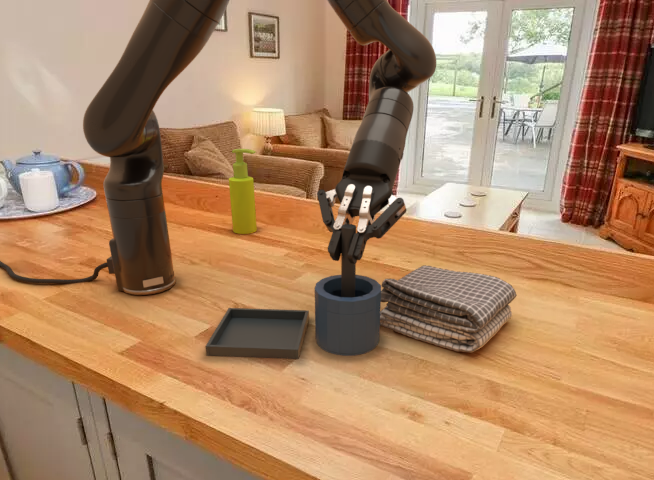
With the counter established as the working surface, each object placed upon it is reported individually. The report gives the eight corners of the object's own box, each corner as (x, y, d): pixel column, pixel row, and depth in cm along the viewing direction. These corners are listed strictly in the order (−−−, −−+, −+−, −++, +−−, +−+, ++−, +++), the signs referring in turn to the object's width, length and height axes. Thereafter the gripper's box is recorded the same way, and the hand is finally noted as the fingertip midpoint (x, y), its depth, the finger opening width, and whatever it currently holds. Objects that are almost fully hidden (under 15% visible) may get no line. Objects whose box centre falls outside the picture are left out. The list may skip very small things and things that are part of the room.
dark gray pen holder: (312, 357, 69) (311, 299, 66) (319, 325, 78) (318, 273, 74) (379, 359, 69) (381, 302, 65) (378, 327, 78) (380, 275, 74)
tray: (206, 358, 69) (205, 346, 68) (229, 318, 80) (228, 307, 79) (298, 361, 68) (298, 349, 67) (309, 321, 79) (308, 310, 78)
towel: (479, 361, 69) (486, 311, 66) (369, 324, 78) (370, 279, 75) (513, 320, 80) (521, 276, 77) (414, 292, 90) (416, 252, 87)
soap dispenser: (255, 235, 120) (250, 151, 112) (229, 233, 121) (221, 150, 113) (264, 228, 125) (259, 148, 118) (238, 226, 127) (232, 147, 119)
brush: (332, 330, 70) (331, 230, 64) (334, 316, 74) (333, 221, 69) (362, 331, 70) (364, 231, 64) (363, 317, 74) (365, 221, 68)
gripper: (325, 134, 71) (287, 240, 65) (418, 140, 66) (385, 254, 60) (340, 165, 78) (306, 264, 72) (425, 173, 73) (396, 278, 67)
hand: (342, 259), depth 66 cm, fingers closed on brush, 2 cm apart
